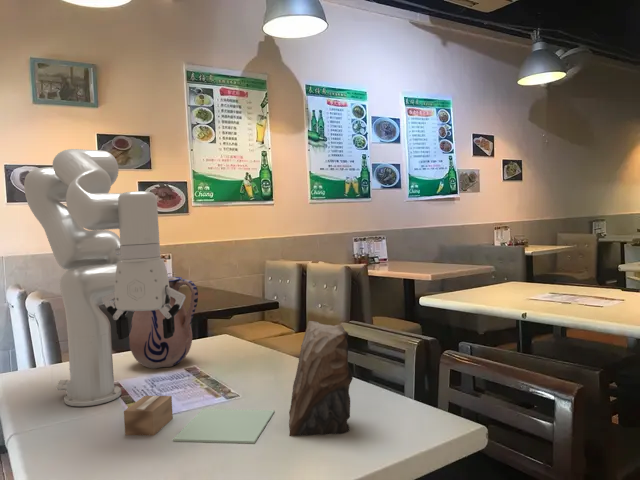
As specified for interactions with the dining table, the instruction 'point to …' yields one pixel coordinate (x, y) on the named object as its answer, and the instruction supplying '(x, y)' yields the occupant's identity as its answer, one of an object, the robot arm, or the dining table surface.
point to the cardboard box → (148, 415)
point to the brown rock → (321, 383)
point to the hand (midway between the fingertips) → (146, 337)
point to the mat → (225, 426)
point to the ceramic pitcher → (150, 336)
